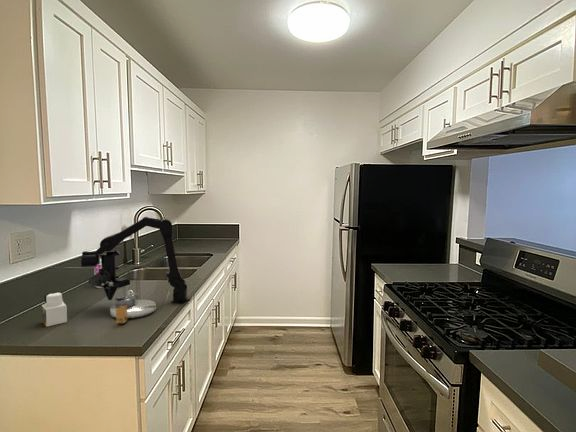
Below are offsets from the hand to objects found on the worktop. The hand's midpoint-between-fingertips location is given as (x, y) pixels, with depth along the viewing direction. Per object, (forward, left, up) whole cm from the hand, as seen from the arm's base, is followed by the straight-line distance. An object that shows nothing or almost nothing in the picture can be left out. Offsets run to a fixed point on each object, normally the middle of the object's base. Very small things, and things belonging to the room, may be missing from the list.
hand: (110, 299), depth 156 cm
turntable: (+2, +15, -3) cm, 15 cm away
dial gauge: (-10, +3, -4) cm, 11 cm away
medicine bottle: (+20, -8, -4) cm, 22 cm away
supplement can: (-25, -33, -4) cm, 41 cm away
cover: (0, +9, -1) cm, 9 cm away
